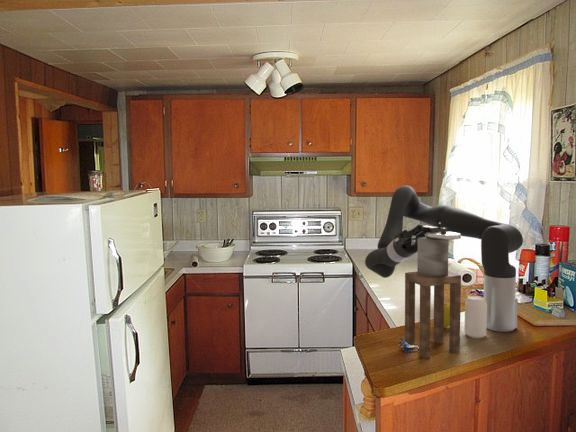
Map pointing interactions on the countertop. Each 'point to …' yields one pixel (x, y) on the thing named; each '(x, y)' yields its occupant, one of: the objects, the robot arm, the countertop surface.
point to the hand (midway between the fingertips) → (431, 226)
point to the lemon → (446, 315)
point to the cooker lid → (439, 233)
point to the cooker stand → (434, 274)
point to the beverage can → (475, 316)
